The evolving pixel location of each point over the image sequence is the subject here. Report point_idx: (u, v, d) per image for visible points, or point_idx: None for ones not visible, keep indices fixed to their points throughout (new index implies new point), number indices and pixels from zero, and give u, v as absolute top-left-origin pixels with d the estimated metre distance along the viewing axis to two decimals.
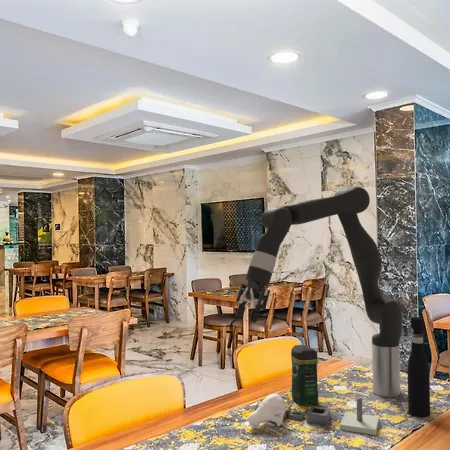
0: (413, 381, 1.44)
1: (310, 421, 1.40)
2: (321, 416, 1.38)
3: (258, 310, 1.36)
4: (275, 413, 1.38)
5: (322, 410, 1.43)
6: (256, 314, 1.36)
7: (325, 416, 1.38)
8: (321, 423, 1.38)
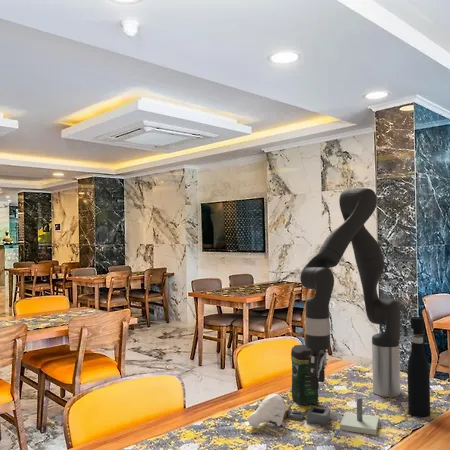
0: (413, 381, 1.44)
1: (310, 421, 1.40)
2: (321, 416, 1.38)
3: (314, 378, 1.37)
4: (275, 413, 1.38)
5: (322, 410, 1.43)
6: (313, 382, 1.37)
7: (325, 416, 1.38)
8: (321, 423, 1.38)
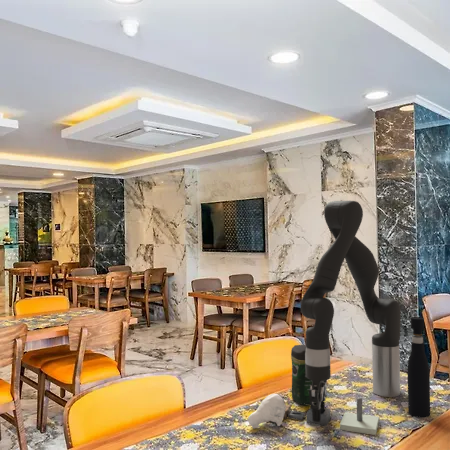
0: (413, 381, 1.44)
1: (310, 421, 1.40)
2: (321, 416, 1.38)
3: (315, 410, 1.38)
4: (275, 413, 1.38)
5: (322, 410, 1.43)
6: (315, 414, 1.38)
7: (325, 416, 1.38)
8: (321, 423, 1.38)
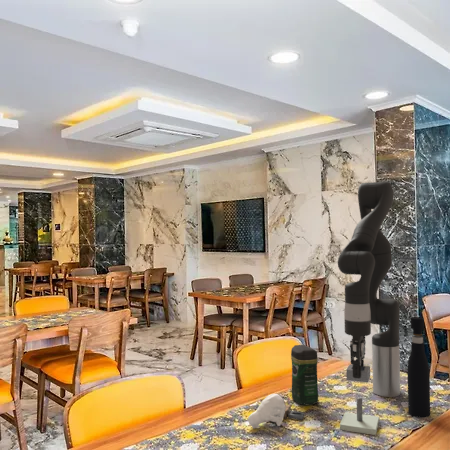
0: (413, 381, 1.44)
1: (350, 378, 1.36)
2: (362, 372, 1.35)
3: (356, 366, 1.34)
4: (275, 413, 1.38)
5: (361, 367, 1.39)
6: (356, 370, 1.34)
7: (366, 372, 1.34)
8: (362, 379, 1.35)
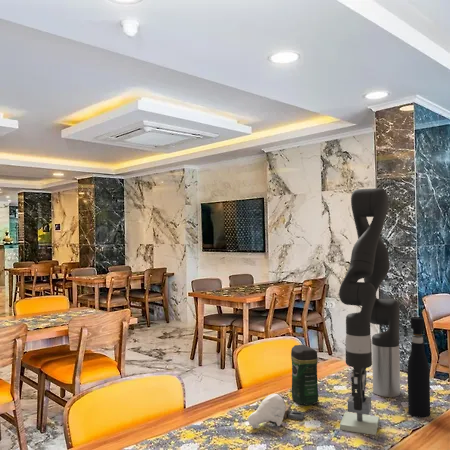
0: (413, 381, 1.44)
1: (351, 410, 1.36)
2: (363, 404, 1.34)
3: (357, 398, 1.34)
4: (275, 413, 1.38)
5: (362, 399, 1.39)
6: (357, 402, 1.34)
7: (367, 404, 1.34)
8: (363, 411, 1.34)
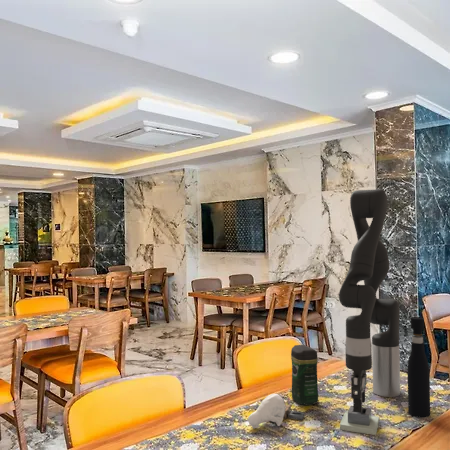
0: (413, 381, 1.44)
1: (351, 421, 1.36)
2: (363, 416, 1.34)
3: (357, 400, 1.33)
4: (275, 413, 1.38)
5: (363, 409, 1.39)
6: (356, 404, 1.33)
7: (367, 416, 1.34)
8: (363, 423, 1.34)
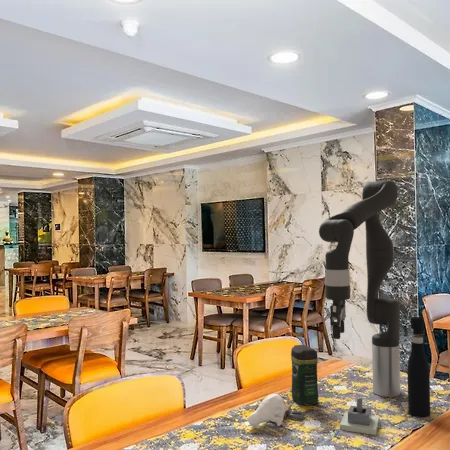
0: (413, 381, 1.44)
1: (351, 421, 1.36)
2: (363, 416, 1.34)
3: (336, 327, 1.40)
4: (275, 413, 1.38)
5: (363, 409, 1.39)
6: (335, 331, 1.40)
7: (367, 416, 1.34)
8: (363, 423, 1.34)
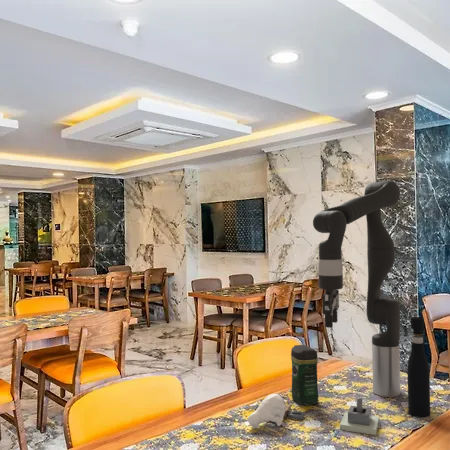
0: (413, 381, 1.44)
1: (351, 421, 1.36)
2: (363, 416, 1.34)
3: (328, 316, 1.42)
4: (275, 413, 1.38)
5: (363, 409, 1.39)
6: (327, 320, 1.42)
7: (367, 416, 1.34)
8: (363, 423, 1.34)
